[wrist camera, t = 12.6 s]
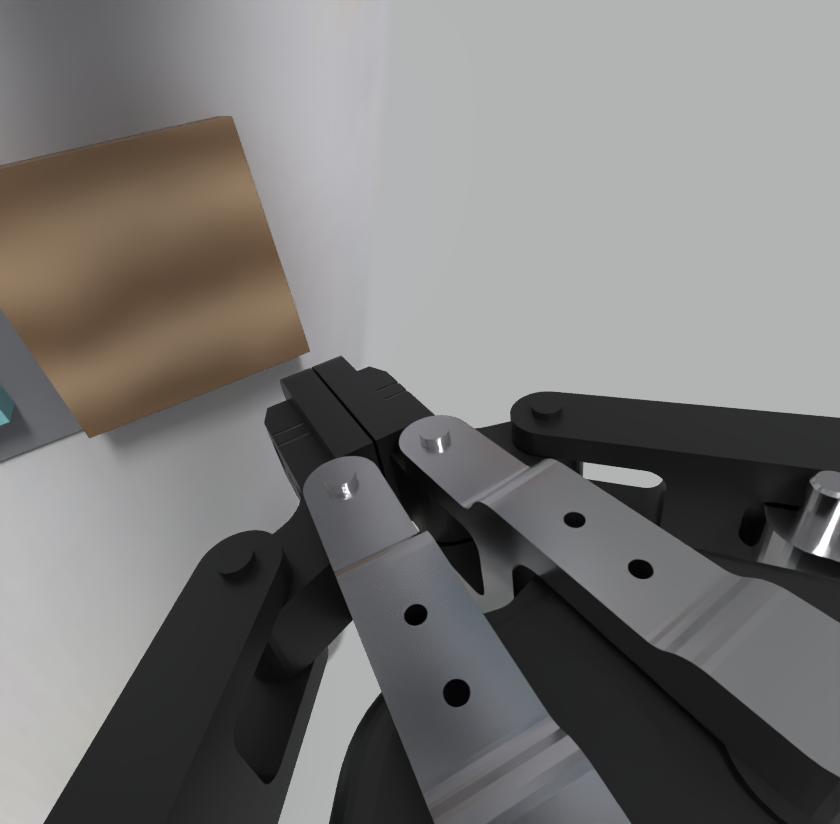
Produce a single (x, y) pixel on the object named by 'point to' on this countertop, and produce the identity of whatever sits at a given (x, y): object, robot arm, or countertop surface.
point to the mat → (29, 398)
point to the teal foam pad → (5, 406)
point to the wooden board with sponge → (143, 271)
